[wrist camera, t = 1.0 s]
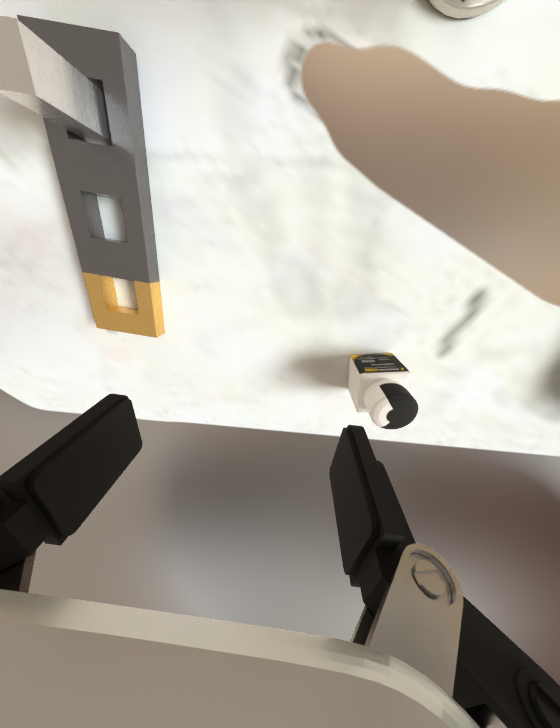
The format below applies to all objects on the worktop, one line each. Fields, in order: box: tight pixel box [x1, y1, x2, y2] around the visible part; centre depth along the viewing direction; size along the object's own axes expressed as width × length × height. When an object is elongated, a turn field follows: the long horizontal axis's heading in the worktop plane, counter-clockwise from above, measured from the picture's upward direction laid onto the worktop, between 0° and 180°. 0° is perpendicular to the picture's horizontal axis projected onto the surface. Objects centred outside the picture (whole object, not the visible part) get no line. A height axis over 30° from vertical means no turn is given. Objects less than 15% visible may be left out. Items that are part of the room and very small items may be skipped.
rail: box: [17, 15, 165, 338], centre depth 29 cm, size 32×10×2 cm, turn 172°
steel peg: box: [0, 16, 113, 146], centre depth 22 cm, size 4×4×10 cm
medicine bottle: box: [348, 353, 418, 429], centre depth 33 cm, size 7×7×12 cm
